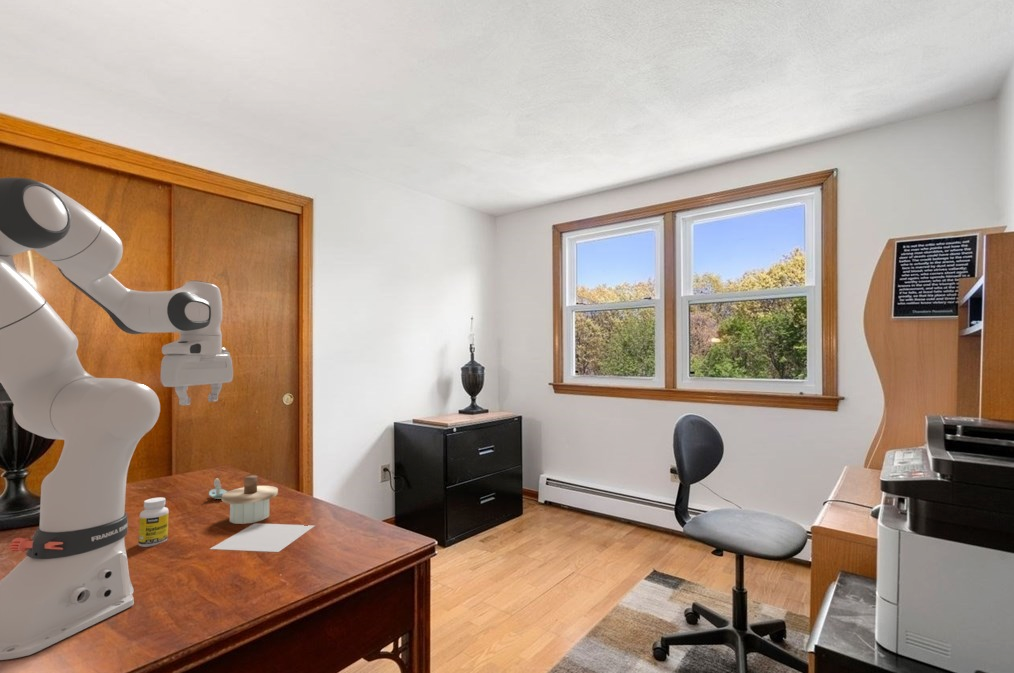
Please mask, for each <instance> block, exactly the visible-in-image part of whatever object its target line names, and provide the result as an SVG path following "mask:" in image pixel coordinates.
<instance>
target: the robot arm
mask: <svg viewBox="0 0 1014 673" xmlns="http://www.w3.org/2000/svg"><path fill="white" fill-rule="evenodd" d="M122 242H123V241H122V239H121V238H120V237H119V236H118V234H117V233H116V231H114V229H112V228H111V227H110V226H109V225H108V224H107V223H106V222H104V221H103V220H101V219H100V218H99V217H98V216H97V215H96V214H94V213H93V212H92V211H90V209H88V208H86V207H85V206H84V205H82V204H81V203H79V202H78V201H76V200H75V199H73V198H72V197H70V196H69V195H67V194H65V193H64V192H62V191H60V190H58V189H56V188H54V187H53V186H51V185H49V184H47V183H44V182H40V181H38V180H35V179H31V178H23V177H0V384H1V386H2V387H3V389H4V390H5V393H6V394H7V395H8V397H9V399H10V400H11V403H12V404H13V407H12V413H13V417H14V420H15V422H16V423H17V425H19V426H20V427H21V428H22V429H24V430H25V431H28V432H29V433H31V434H35V435H37V436H39V437H43V438H44V439H49V440H50V439H51V440H61V441H62V440H63V441H64V443H63V448H62V450H61V453H60V457H59V459H58V461H57V463H56V466H54V468H53V470H52V471H51V472H49V473H48V474H47V475H46V476H44V478H43V479H42V482H41V484H40V507H39V509H40V510H39V526H38V527H37V528H36V530H35V531H34V534H33V536H32V538H30V537H26V538H24V537H15V538H13V539H12V540H11V541H10V542H9V544H8V545H9V546H8V548H9V551H11V552H20V553H21V552H22V553H23V552H24V553H25V555H26V556H25V557H24V558H23V560H21V561H20V562H19V563H18V564H17V565H16V566H15V567H14V568H13V569H12V570H10V572H8V573H7V574H6V576H5V577H3V578H2V579H1V580H0V661H4V660H13V659H17V658H22V657H27V656H31V655H33V654H35V653H38V652H40V651H42V650H44V649H46V648H48V647H49V646H53V645H54V644H56V643H59V642H60V641H62V640H65V639H66V638H70V637H71V636H73V635H75V634H78V633H79V632H81V631H83V630H85V629H87V628H89V627H92V626H94V625H96V624H98V623H99V622H102V621H104V620H106V619H109V618H111V617H112V616H114V615H116V614H118V613H120V612H123V611H124V610H126V609H128V608H131V607H133V606H134V604H135V601H134V600H135V599H134V596H133V595H134V590H135V589H134V587H133V584H132V582H131V578H130V571H129V563H128V555H127V549H126V544H125V539H126V538H125V537H126V536H127V534H128V526H129V522H128V514H127V512H125V510H126V509H125V508H126V507H125V506H126V492H127V491H126V490H127V477H128V471H129V466H130V463H131V460H132V457H133V455H134V452H135V450H136V448H137V446H138V444H139V442H140V440H141V439H143V437H144V436H145V435H146V434H147V433H149V432H150V431H151V430H152V429H153V428H154V426H155V425H156V423H157V422H158V420H159V417H160V413H161V403H160V399H159V396H158V395H157V393H156V392H155V391H154V390H153V389H152V388H150V386H147V385H145V384H142V383H139V382H136V381H132V380H129V379H126V378H121V377H119V378H116V377H114V378H113V377H112V378H110V377H95V376H93V375H91V374H90V373H89V372H88V371H86V370H85V369H84V367H83V365H82V363H81V361H80V359H79V356H78V354H77V350H78V348H79V339H78V337H77V335H76V333H74V331H72V329H71V328H70V327H69V326H68V324H67V323H65V321H64V320H63V319H62V318H61V316H60V315H59V314H58V313H57V311H56V310H55V309H54V308H53V307H52V306H51V304H50V303H49V302H48V301H47V300H46V298H44V296H43V295H42V294H41V293H40V292H39V291H38V290H37V288H35V287H34V285H33V284H31V282H29V281H28V280H27V278H25V277H24V276H23V275H22V274H21V273H20V272H19V271H18V270H17V267H16V264H15V260H14V256H16V255H19V254H23V253H27V252H29V251H32V250H33V251H34V252H36V253H37V254H38V255H39V256H42V258H44V259H46V260H47V261H49V262H50V263H52V264H53V265H54V266H56V268H57V269H58V271H59V272H60V274H61V275H62V276H63V277H64V279H66V280H67V281H68V282H69V284H71V285H73V286H74V287H75V288H76V289H77V290H79V291H80V292H82V293H83V294H84V295H85V296H86V297H88V298H89V299H90V300H92V301H93V302H94V303H95V304H96V305H98V306H99V307H100V308H102V309H103V310H104V311H105V313H107V314H108V316H109V317H110V318H111V320H112V321H113V323H114V324H115V325H116V326H117V327H118V328H119V329H120V330H121V331H123V332H125V333H127V334H130V335H144V334H153V333H154V334H156V333H158V334H159V333H160V334H161V333H163V334H164V333H166V334H167V333H168V334H169V333H179V339H177V340H175V341H174V340H173V341H172V342H169V343H167V344H164V345H163V346H162V347H161V353H162V354H163V355H164V356H163V357H162V359H161V364H160V383H161V385H162V386H163V387H166V388H174V391H175V393H176V395H177V397H178V400H179V401H178V405H179V406H190V405H191V404H192V403H191V400H192V398H191V397H189V395H188V392H187V391H188V390H189V386H203V385H210V388H211V390H210V393H209V394H207V401H208V402H213V403H214V402H217V401H219V394H220V393H221V390H222V388H223V384H225V383H226V384H227V383H231V382H232V381H233V379H234V367H233V359H232V357H231V352H229V350H228V349H227V348H226V347H223V345H222V344H223V341H222V340H223V334H222V330H221V325H222V321H223V298H222V294H221V289H220V287H218V286H217V285H216V284H213V283H210V282H208V281H202V280H189V281H185V283H184V285H183V286H181V287H178V288H175V289H171V290H163V291H161V290H159V291H155V290H154V291H144V290H134V289H130V288H127V287H126V286H124V285H123V284H122V283H121V282H120V281H119V280H118V279H117V278H116V277H114V275H113V274H111V273H113V271H114V270H115V269H116V268H117V267H118V265H119V264H120V263H121V261H122V257H123V254H124V245H123V243H122Z"/></svg>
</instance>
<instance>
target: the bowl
mask: <svg viewBox="0 0 1014 673" xmlns="http://www.w3.org/2000/svg"><path fill="white" fill-rule="evenodd" d="M270 499H271V498H270ZM270 499H267V500H264V501H260V502H254V503H246V504H229V523H232V524H238V525H239V524H241V525H243V524H252V523H253V524H254V523H257V522H260V521H264V520H265V519H267V518H269V517H270Z"/></svg>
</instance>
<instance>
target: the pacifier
mask: <svg viewBox="0 0 1014 673" xmlns="http://www.w3.org/2000/svg"><path fill="white" fill-rule="evenodd" d="M213 485H214V487H215V488H212V489H210V490H209V492H208V495H209V497H211V498H212V499H214V500H215V499H221V500H222V495H223V494H224V493H226V492H228V491H229V490H225V489H223V488H222V485H221V481H220V479H219V478H218V477H217V478H215V479H214V480H213Z"/></svg>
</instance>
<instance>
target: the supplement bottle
mask: <svg viewBox="0 0 1014 673" xmlns="http://www.w3.org/2000/svg"><path fill="white" fill-rule="evenodd" d="M165 506H166V498H165V497H160V496H159V497H152V498H149V499H145V500H144V501H143V508H144V510H141V512H140V513H139V517H138V518H139V519H138V522H139V523H138V543H137V545H138V546H139V547H141V548H151V547H155V546H157V545H159V544H162V543H164V542H166V541H167V540H168V535H169V516H170V515H169V513H170V511H169V508H168V507H167V506H166V507H165Z"/></svg>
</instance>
